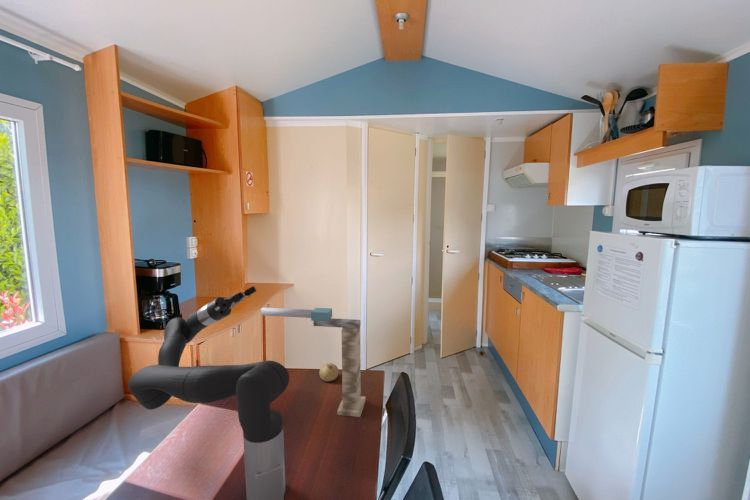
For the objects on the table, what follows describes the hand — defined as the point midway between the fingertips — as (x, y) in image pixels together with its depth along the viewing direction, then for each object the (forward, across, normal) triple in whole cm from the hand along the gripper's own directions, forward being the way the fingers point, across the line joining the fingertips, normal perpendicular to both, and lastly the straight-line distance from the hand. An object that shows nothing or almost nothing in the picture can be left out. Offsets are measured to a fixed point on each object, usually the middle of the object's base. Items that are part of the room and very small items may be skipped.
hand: (248, 291), depth 120 cm
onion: (0, +18, +48) cm, 51 cm away
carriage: (+11, 0, +16) cm, 20 cm away
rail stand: (+8, 0, +52) cm, 53 cm away
